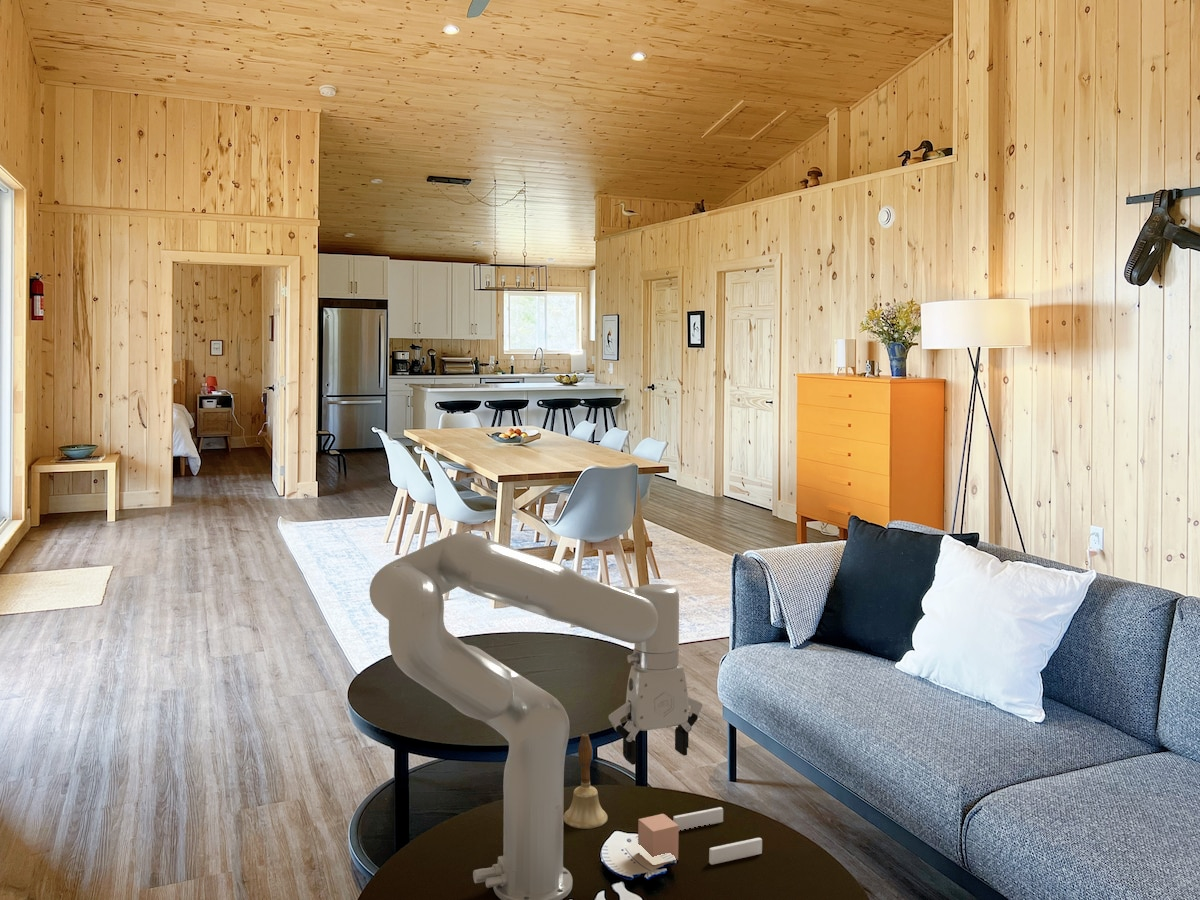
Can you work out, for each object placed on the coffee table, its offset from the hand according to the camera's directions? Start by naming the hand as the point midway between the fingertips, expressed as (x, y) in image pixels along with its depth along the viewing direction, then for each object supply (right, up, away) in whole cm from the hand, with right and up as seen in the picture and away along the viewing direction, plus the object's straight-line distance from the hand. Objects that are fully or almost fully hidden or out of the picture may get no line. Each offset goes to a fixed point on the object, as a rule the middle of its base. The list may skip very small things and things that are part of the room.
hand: (656, 757), depth 156 cm
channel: (+11, -17, +6) cm, 21 cm away
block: (0, -17, 0) cm, 17 cm away
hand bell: (-12, -16, +14) cm, 25 cm away
